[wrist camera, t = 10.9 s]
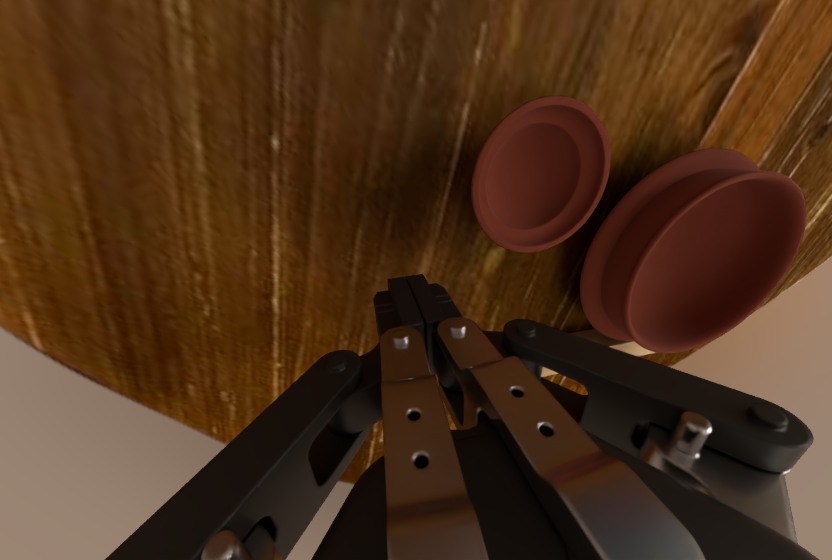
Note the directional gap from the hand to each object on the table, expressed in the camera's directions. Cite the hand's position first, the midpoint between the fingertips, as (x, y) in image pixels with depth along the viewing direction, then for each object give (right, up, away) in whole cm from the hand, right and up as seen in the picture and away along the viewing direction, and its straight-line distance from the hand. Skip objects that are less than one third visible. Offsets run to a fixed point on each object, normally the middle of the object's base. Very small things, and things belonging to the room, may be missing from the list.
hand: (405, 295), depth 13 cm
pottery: (+11, +4, +5) cm, 13 cm away
